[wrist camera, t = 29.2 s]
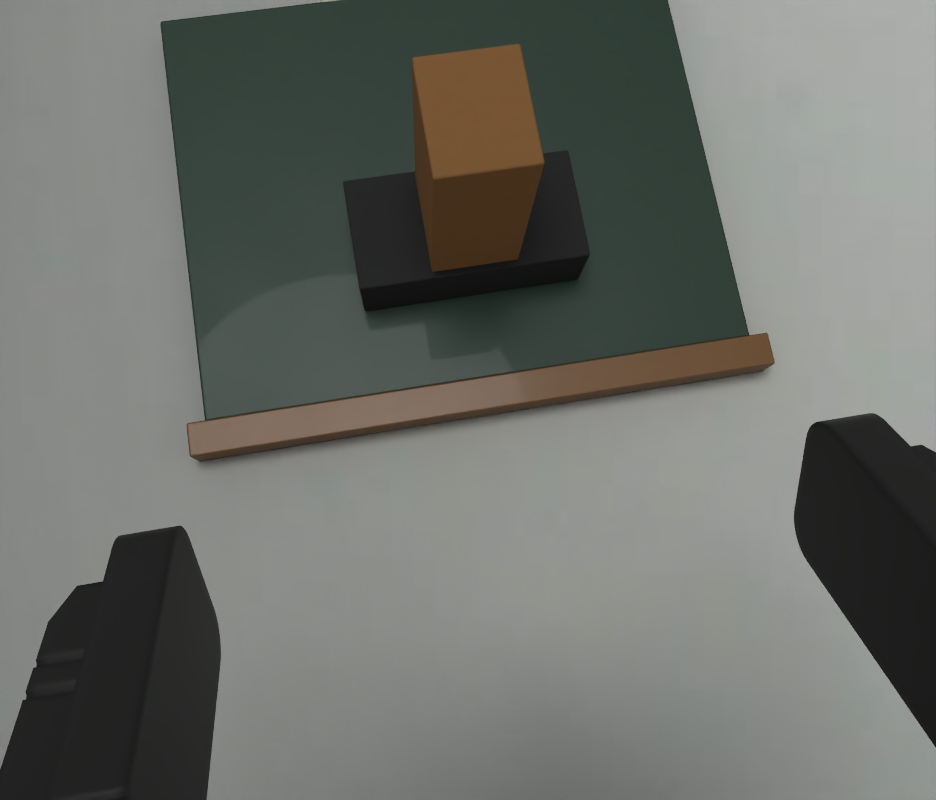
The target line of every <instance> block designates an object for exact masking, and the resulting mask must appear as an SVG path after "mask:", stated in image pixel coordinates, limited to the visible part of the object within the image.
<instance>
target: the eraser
mask: <svg viewBox="0 0 936 800" xmlns="http://www.w3.org/2000/svg"><path fill="white" fill-rule="evenodd" d="M412 90H413V121H414V152H415V171H413V172H406V173H399V174H392V175H385V176H377V177H370V178H363V179H356V180H349V181H344V182H343V187H344V193H345V200H346V206H347V213H348V219H349V226H350V232H351V238H352V245H353V251H354V258H355V264H356V271H357V277H358V283H359V289H360V294H361V298H362V302H363V306H364V310H365V311H371V310H377V309H384V308H391V307H397V306H404V305H411V304H417V303H424V302H430V301H437V300H444V299H450V298H457V297H463V296H470V295H477V294H483V293H490V292H497V291H503V290H510V289H516V288H523V287H530V286H536V285H543V284H549V283H556V282H563V281H569V280H576V279H578V278H579V276H580V274H581V272H582V270H583V268H584V266H585V264H586V262H587V260H588V258H589V256H590V251H589V246H588V241H587V236H586V232H585V227H584V222H583V218H582V213H581V208H580V203H579V199H578V194H577V189H576V185H575V180H574V175H573V170H572V166H571V161H570V156H569V152H568V150H564V151H557V152H550V153H543V152H542V147H541V142H540V138H539V133H538V128H537V123H536V118H535V113H534V108H533V104H532V99H531V94H530V89H529V84H528V79H527V74H526V70H525V65H524V60H523V55H522V50H521V46H520V44H513V45H505V46H497V47H490V48H482V49H474V50H466V51H459V52H451V53H443V54H435V55H427V56H420V57H413V58H412Z"/></svg>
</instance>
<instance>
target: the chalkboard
mask: <svg viewBox="0 0 936 800" xmlns="http://www.w3.org/2000/svg"><path fill="white" fill-rule="evenodd" d="M161 33H162V41H163V50H164V59H165V68H166V77H167V86H168V95H169V104H170V113H171V121H172V130H173V139H174V148H175V157H176V166H177V175H178V184H179V193H180V201H181V210H182V219H183V228H184V237H185V246H186V255H187V264H188V273H189V282H190V290H191V299H192V308H193V317H194V326H195V335H196V344H197V353H198V362H199V370H200V379H201V388H202V397H203V406H204V415H205V420H206V421H199V422H193V423H188V424H187V433H188V443H189V452H190V456H191V457H193V458H194V459H196V460H198V461H203V460H209V459H215V458H222V457H228V456H234V455H240V454H247V453H253V452H259V451H265V450H272V449H278V448H284V447H290V446H297V445H303V444H309V443H315V442H322V441H328V440H334V439H340V438H347V437H353V436H359V435H366V434H372V433H378V432H384V431H391V430H397V429H403V428H409V427H416V426H422V425H428V424H434V423H441V422H447V421H453V420H459V419H466V418H472V417H478V416H484V415H491V414H497V413H503V412H509V411H516V410H522V409H528V408H534V407H541V406H547V405H553V404H559V403H566V402H572V401H578V400H584V399H591V398H597V397H603V396H609V395H616V394H622V393H628V392H634V391H641V390H647V389H653V388H659V387H666V386H672V385H678V384H684V383H691V382H697V381H703V380H709V379H716V378H722V377H728V376H734V375H741V374H747V373H753V372H760V371H763V370H765V369H766V368H768V367H769V366H771V365H773V364H774V363H775V362H774V358H773V354H772V350H771V345H770V341H769V337H768V334H767V333H762V334H755V335H749V333H748V328H747V324H746V320H745V316H744V312H743V308H742V304H741V300H740V296H739V291H738V287H737V283H736V279H735V275H734V271H733V267H732V263H731V259H730V254H729V250H728V246H727V242H726V238H725V234H724V230H723V226H722V222H721V218H720V213H719V209H718V205H717V201H716V197H715V193H714V189H713V185H712V181H711V176H710V172H709V168H708V164H707V160H706V156H705V152H704V148H703V144H702V139H701V135H700V131H699V127H698V123H697V119H696V115H695V111H694V107H693V102H692V98H691V94H690V90H689V86H688V82H687V78H686V74H685V70H684V65H683V61H682V57H681V53H680V49H679V45H678V41H677V37H676V33H675V28H674V24H673V20H672V16H671V12H670V8H669V4H668V0H336V1H328V2H320V3H312V4H303V5H295V6H287V7H279V8H270V9H262V10H254V11H245V12H237V13H229V14H221V15H212V16H204V17H196V18H187V19H179V20H171V21H163V22H161ZM513 44H520V46H521V50H522V55H523V60H524V65H525V70H526V74H527V79H528V84H529V89H530V94H531V99H532V104H533V108H534V113H535V118H536V123H537V128H538V133H539V138H540V142H541V147H542V152H543V153H550V152H557V151H564V150H568V152H569V156H570V161H571V166H572V170H573V175H574V180H575V185H576V189H577V194H578V199H579V203H580V208H581V213H582V218H583V222H584V227H585V232H586V236H587V241H588V246H589V251H590V256H589V258H588V260H587V262H586V264H585V266H584V268H583V270H582V272H581V274H580V276H579V278H578V279H576V280H569V281H563V282H556V283H549V284H543V285H536V286H530V287H523V288H516V289H510V290H503V291H497V292H490V293H483V294H477V295H470V296H463V297H457V298H450V299H444V300H437V301H430V302H424V303H417V304H411V305H404V306H397V307H391V308H384V309H377V310H371V311H365V310H364V306H363V302H362V298H361V294H360V289H359V283H358V277H357V271H356V264H355V258H354V251H353V245H352V238H351V232H350V226H349V219H348V213H347V206H346V200H345V193H344V187H343V182H344V181H349V180H356V179H363V178H370V177H377V176H385V175H392V174H399V173H406V172H413V171H415V152H414V121H413V90H412V58H413V57H420V56H427V55H435V54H443V53H451V52H459V51H466V50H474V49H482V48H490V47H497V46H505V45H513Z"/></svg>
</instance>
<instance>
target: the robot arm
mask: <svg viewBox="0 0 936 800" xmlns="http://www.w3.org/2000/svg"><path fill="white" fill-rule="evenodd" d="M794 525H795V531H796V536H797V540H798V543H799V546H800V548H801V551H802V553H803V555H804V557H805V558H806V560H807V562H808V563H809V565H810V566H811V567H812V569H813V570H814V572H815V573H816V575H817V576H818V578H819V579H820V580H821V582H822V583H823V585H824V586H825V588H826V589H827V591H828V592H829V593H830V595H831V596H832V598H833V599H834V601H835V602H836V604H837V605H838V607H839V608H840V609H841V611H842V612H843V614H844V615H845V617H846V618H847V620H848V621H849V622H850V624H851V625H852V627H853V628H854V630H855V631H856V633H857V634H858V635H859V637H860V638H861V640H862V641H863V643H864V644H865V646H866V647H867V649H868V650H869V651H870V653H871V654H872V656H873V657H874V659H875V660H876V662H877V663H878V664H879V666H880V667H881V669H882V670H883V672H884V673H885V675H886V676H887V677H888V679H889V680H890V682H891V683H892V685H893V686H894V688H895V689H896V691H897V692H898V693H899V695H900V696H901V698H902V699H903V701H904V702H905V704H906V705H907V706H908V708H909V709H910V711H911V712H912V714H913V715H914V717H915V718H916V719H917V721H918V722H919V724H920V725H921V727H922V728H923V730H924V731H925V733H926V734H927V735H928V737H929V738H930V740H931V741H932V743H933V744H934V746H935V747H936V452H934V451H932V450H930V449H928V448H926V447H925V446H923V445H917V446H911V447H910V446H909V445H908V443H907V442H906V441H905V440H904V439H903V438H902V437H901V436H900V435H899V434H898V433H897V432H896V431H895V430H894V429H893V428H892V427H891V426H890V425H889V424H888V423H887V422H886V421H885V420H884V419H883V418H881V417H880V416H878V415H876V414H873V413H869V414H863V415H857V416H851V417H845V418H839V419H833V420H827V421H821V422H816V423H814V424H813V425H812V426H811V427H810V428H809V430H808V433H807V437H806V443H805V449H804V455H803V461H802V467H801V473H800V479H799V486H798V492H797V498H796V504H795V511H794ZM220 660H221V646H220V634H219V627H218V622H217V617H216V613H215V610H214V607H213V604H212V601H211V599H210V596H209V593H208V590H207V587H206V584H205V582H204V579H203V576H202V573H201V570H200V567H199V565H198V562H197V559H196V556H195V553H194V550H193V548H192V545H191V542H190V539H189V537H188V534H187V532H186V530H185V529H184V528H183V527H182V526H175V527H169V528H163V529H157V530H151V531H145V532H139V533H133V534H127V535H121V536H118V537H117V538H116V540H115V541H114V544H113V547H112V550H111V554H110V558H109V561H108V565H107V569H106V573H105V576H104V580H103V582H97V583H91V584H86V585H80V586H77V587H76V588H75V589H74V590H73V592H72V593H71V594H70V595H69V597H68V598H67V599H66V600H65V602H64V603H63V604H62V605H61V607H60V608H59V609H58V611H57V612H56V613H55V614H54V616H53V617H52V618H51V619H50V621H49V622H48V625H47V628H46V631H45V634H44V637H43V640H42V643H41V646H40V649H39V652H38V656H37V659H36V662H37V667H35V668H33V671H32V674H31V677H30V680H29V683H28V686H27V689H26V695H27V697H26V700H23V702H22V705H21V708H20V711H19V714H18V717H17V720H16V723H15V726H14V729H13V732H12V735H11V739H10V742H9V745H8V748H7V751H6V754H5V757H4V760H3V763H2V766H1V769H0V800H206V799H207V789H208V779H209V770H210V760H211V750H212V740H213V730H214V720H215V711H216V701H217V691H218V681H219V671H220Z"/></svg>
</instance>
